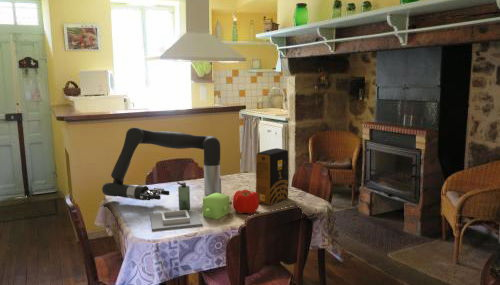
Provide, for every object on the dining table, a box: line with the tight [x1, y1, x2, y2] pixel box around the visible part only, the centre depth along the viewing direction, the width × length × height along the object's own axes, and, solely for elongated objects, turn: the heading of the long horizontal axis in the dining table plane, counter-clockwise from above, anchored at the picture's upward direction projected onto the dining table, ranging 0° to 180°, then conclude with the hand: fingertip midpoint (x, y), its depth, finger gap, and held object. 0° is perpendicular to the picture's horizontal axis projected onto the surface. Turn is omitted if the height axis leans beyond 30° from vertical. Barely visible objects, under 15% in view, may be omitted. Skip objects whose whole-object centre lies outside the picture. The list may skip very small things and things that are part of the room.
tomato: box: [232, 189, 260, 215], centre depth 200 cm, size 14×13×10 cm
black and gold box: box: [255, 147, 289, 206], centre depth 218 cm, size 11×19×28 cm, turn 142°
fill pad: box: [149, 209, 203, 232], centre depth 189 cm, size 22×20×3 cm
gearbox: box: [202, 192, 233, 220], centre depth 195 cm, size 18×10×10 cm, turn 148°
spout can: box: [176, 181, 191, 211], centre depth 203 cm, size 6×6×15 cm
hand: (164, 195), depth 207 cm, fingers open, 8 cm apart
